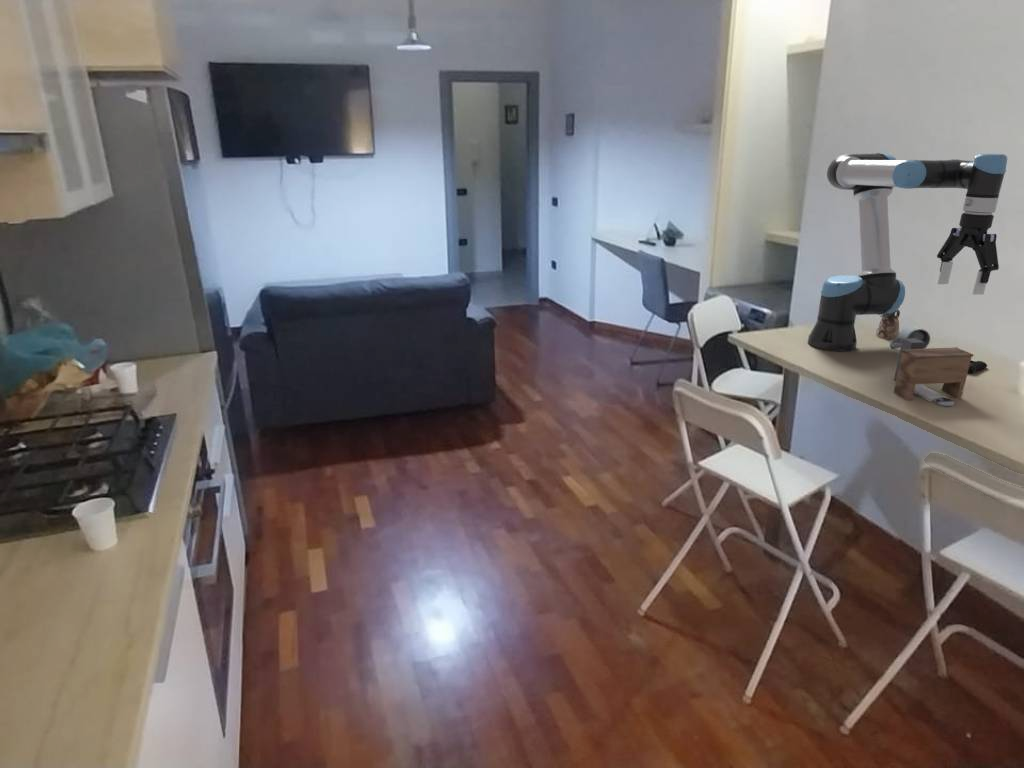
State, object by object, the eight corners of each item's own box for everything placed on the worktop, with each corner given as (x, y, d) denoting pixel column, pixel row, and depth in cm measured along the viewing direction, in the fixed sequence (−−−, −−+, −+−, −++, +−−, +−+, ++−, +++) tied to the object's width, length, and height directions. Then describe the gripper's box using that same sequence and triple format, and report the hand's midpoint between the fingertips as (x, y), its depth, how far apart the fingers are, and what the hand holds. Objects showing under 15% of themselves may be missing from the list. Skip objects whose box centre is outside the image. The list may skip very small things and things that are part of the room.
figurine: (871, 333, 247) (878, 301, 243) (891, 333, 247) (897, 301, 243) (881, 338, 240) (888, 306, 236) (901, 339, 240) (908, 306, 236)
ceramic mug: (916, 344, 234) (920, 323, 231) (928, 351, 226) (932, 329, 223) (884, 344, 235) (888, 322, 232) (895, 351, 227) (899, 329, 224)
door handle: (928, 344, 227) (905, 349, 218) (995, 360, 212) (972, 366, 203) (926, 353, 228) (902, 359, 219) (992, 370, 213) (969, 377, 204)
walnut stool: (892, 391, 191) (901, 349, 186) (945, 389, 193) (956, 347, 188) (907, 400, 185) (917, 356, 180) (962, 397, 187) (973, 354, 182)
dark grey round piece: (931, 401, 185) (932, 397, 185) (949, 402, 184) (950, 398, 184) (937, 407, 181) (938, 403, 181) (956, 408, 180) (957, 404, 180)
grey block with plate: (892, 381, 199) (901, 338, 195) (907, 380, 200) (917, 338, 195) (929, 401, 184) (940, 355, 180) (946, 400, 185) (957, 355, 180)
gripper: (933, 208, 197) (918, 280, 205) (1001, 218, 174) (981, 299, 182) (957, 208, 198) (940, 279, 206) (1028, 218, 175) (1006, 298, 182)
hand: (959, 289), depth 194 cm, fingers open, 13 cm apart
